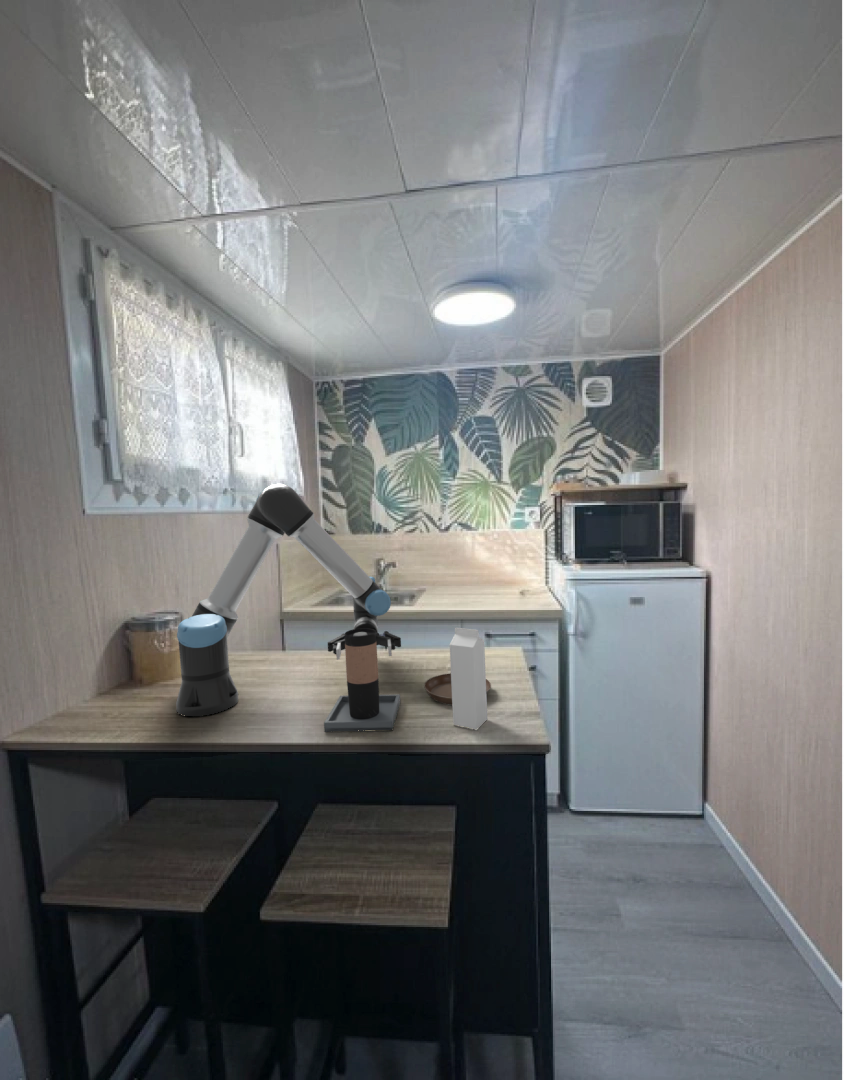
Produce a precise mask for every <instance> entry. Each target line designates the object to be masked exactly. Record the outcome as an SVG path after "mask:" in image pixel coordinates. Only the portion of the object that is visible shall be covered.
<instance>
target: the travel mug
mask: <svg viewBox="0 0 844 1080" xmlns="http://www.w3.org/2000/svg"><path fill="white" fill-rule="evenodd" d="M344 634H345V649H344V650H345V651H344V652H345V666H346V667H345V668H346V669H345V671H346V673H345V674H346V687H347V696H348V699H349V710H350V716H351V717H352V718H355V719H369V718H373V717H375V716H377V715H378V714H379V695H380V685H379V684H380V681H379V680H380V679H379V661H378V648H377V646H378V645H377V644H376V631H375V630H374V629H369V628H360V629H354V628H353V629H348V630H347V631H346V632H344Z"/></svg>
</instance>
